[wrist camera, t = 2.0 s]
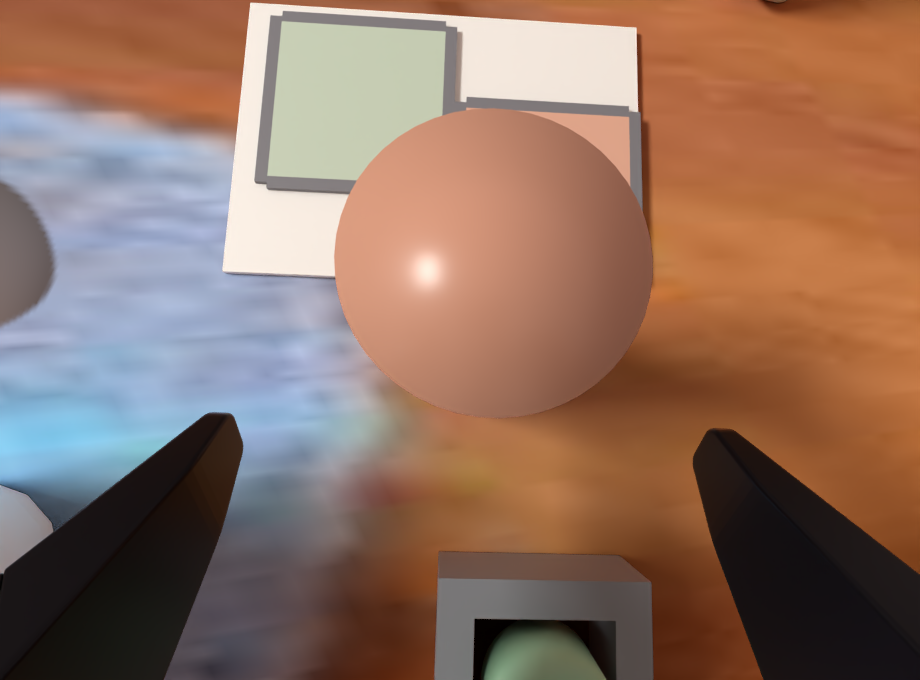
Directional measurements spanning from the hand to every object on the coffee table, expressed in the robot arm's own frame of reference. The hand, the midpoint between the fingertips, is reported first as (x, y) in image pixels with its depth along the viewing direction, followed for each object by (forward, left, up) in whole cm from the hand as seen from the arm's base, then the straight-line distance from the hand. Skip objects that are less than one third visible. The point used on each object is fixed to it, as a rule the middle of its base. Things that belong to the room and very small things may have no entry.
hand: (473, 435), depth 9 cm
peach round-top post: (+1, -2, -10) cm, 10 cm away
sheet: (+7, -9, -10) cm, 15 cm away
